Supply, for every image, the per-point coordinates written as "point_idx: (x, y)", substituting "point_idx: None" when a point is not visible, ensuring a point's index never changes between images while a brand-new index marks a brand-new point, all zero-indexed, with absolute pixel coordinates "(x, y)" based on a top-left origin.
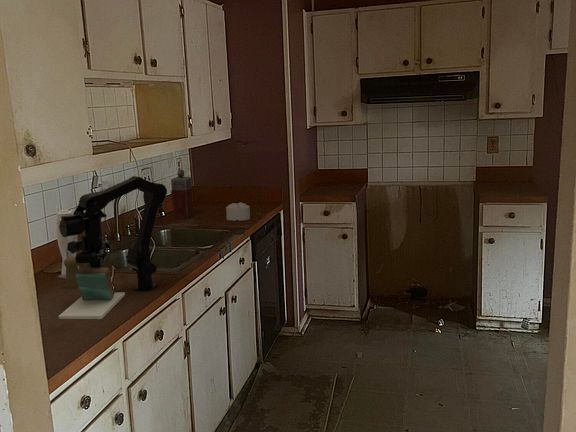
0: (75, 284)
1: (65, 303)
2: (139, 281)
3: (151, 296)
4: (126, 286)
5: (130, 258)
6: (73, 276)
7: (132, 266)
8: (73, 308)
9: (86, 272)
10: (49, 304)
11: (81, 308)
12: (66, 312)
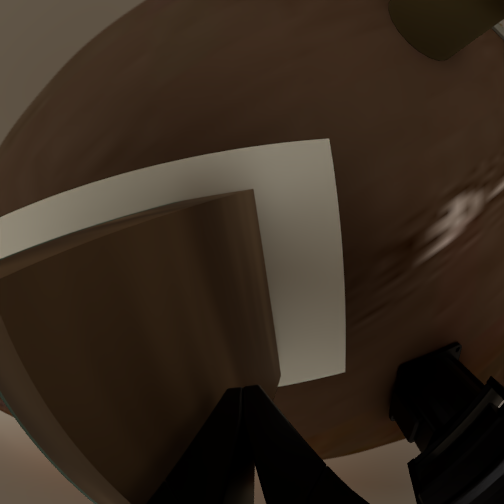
0: (417, 31)
1: (160, 93)
2: (408, 417)
3: (322, 447)
4: (451, 298)
5: (480, 484)
6: (441, 8)
7: (461, 446)
8: (56, 231)
9: (26, 424)
10: (139, 27)
11: None
12: (17, 230)
